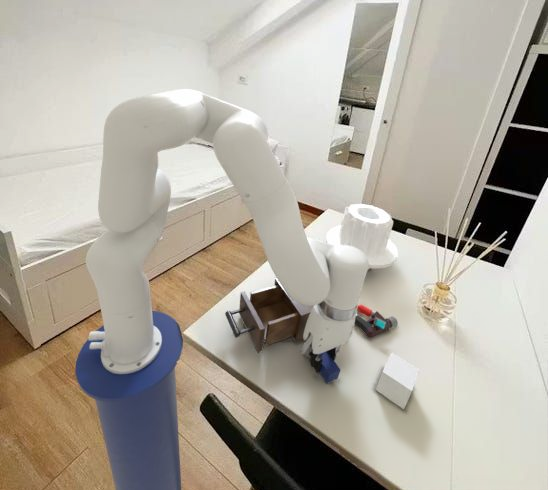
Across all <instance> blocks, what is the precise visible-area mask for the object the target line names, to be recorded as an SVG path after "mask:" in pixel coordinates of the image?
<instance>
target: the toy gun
mask: <svg viewBox="0 0 548 490" xmlns="http://www.w3.org/2000/svg"><path fill="white" fill-rule="evenodd" d="M356 311H358V312H359V313H360V314H362V315H363V316H366V317H367V318H370V319H368V320H365V319H364V318H363V317H362V316H360V315H357V314H356V317H355V323H354V326H356V327H357V328H359V330H361V331H362V332H363V333H364V335H365V336H366V338H369V339H373V338H374V337H377V336H379V335H381V334H384V333H386V332H388V331H390V329H392V328H395V327H397V326H398V325H399V324H398V322H399V321H398V319H397V318H396V317H395V316H394V315H393V316H389V317H387V318H385V317H384V316H383V315H382V314H381V313H380V312H379V311H378V310H377V311H373V309H370V308H369V307H366V305H363V304H357V307H356Z"/></svg>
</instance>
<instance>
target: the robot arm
mask: <svg viewBox="0 0 548 490" xmlns="http://www.w3.org/2000/svg"><path fill="white" fill-rule="evenodd" d="M195 138H196V139H198V140H201V141H204V142H207V143H210V144H212V149H213V152H214V155H215V157H216V160H217V161H218V163H219V164H220V167H221V168H222V169H223V171H224V173H225V174H226V177H228V179H229V181H230V182H231V183H232V185H233V187H234V189H235V190H236V192H237V193H238V195H239V197H240V198H241V200H242V202H243V204H244V206H245V208H246V209H247V211H248V212H249V213H250V216H251V218H252V221H253V224H254V228H255V230H256V233H257V236H258V239H259V241H260V244H261V246H262V249H263V252H264V254H265V257H266V260H267V262H268V264H269V266H270V269H271V270H272V272H273V274H274V276H275V278H277V279H278V280H279V282H280V284H281V285H282V287H283V288H284V290H285V291H286V293H287V294H288V295H289V296H290V297H291V298H292V299H293V300H294V301H296V302H297V303H300V304H302V305H306V306H313V305H314V307H313V309H312V311H311V313H310V315H309V318H308V320H307V323H306V326H305V330H304V334H303V339H304V340H303V341H304V344H303V345H302V347H301V348H300V350H299V351H300V353H301V354H302V356H303V357H309V356H310V357H309V364H310V367H311V368H312V369H313V370H314V371H315V372H316V374H320V368H321V365H322V359H321V357H322V355H323V352H326V351H328V353H329V354H330V356H331V357H332V359H333V360H334V361H335V362H336V358H337V354H338V353H339V352H340V351H341V347H342V345H344V344H346V343H348V342H349V341H350V339H351V337H352V335H353V331H354V328H355V324H354V323H355V317H356V316H357V307H358V305H359V299H360V296H361V293H362V290H363V287H364V284H365V281H366V277H367V274H368V271H369V270H368V266H369V262H368V259H367V256H366V255H365V254H364V253H363V252H362V251H361V250H359V249H357V248H355V247H353V246H349V245H339V246H338V245H334V244H331V243H327V242H326V241H325V240H321V239H318V238H315V237H313V236H312V237H311V236H307V234H306V231H305V227H304V224H303V221H302V216H301V211H300V207H299V203H298V199H297V196H296V193H295V191H294V189H293V187H292V185H291V183H290V181H289V180H288V178H287V176H286V174H285V172H284V170H283V169H282V166H281V164H280V163H279V161H278V159H277V158H276V155H275V153H274V151H273V150H272V148H271V145H270V144H269V142H268V139H269V132H268V127H267V124H266V123H265V121H264V119H262V118H261V116H260V115H257V113H254V112H253V111H250V110H248V109H245V108H243V107H239V106H238V105H235V104H232V103H230V102H227V101H224V100H221V99H219V98H216V97H214V96H211V95H209V94H206V93H203V92H201V91H198V90H195V89H191V88H176V89H172V90H166V91H161V92H160V91H159V92H156V93H151V94H146V95H141V96H136V97H134V98H133V97H132V98H130V99H127V100H125V101H122V102H120V103H119V104H117V105H116V106H115V107H114V108H112V109H111V111H110V112H109V114H108V115H107V117H106V119H105V121H104V126H103V139H102V140H103V141H102V146H103V147H102V162H101V167H100V179H99V190H98V201H97V212H98V217H99V220H100V222H101V223H102V225H103V226H104V228H106V230H104V232H102V233H101V234H100V235H99V236H98V237H97V238H96V239H95V240H94V242H93V243H91V245H90V247H89V248H88V250H87V254H86V256H85V266H86V269H87V271H88V273H89V275H90V277H91V279H92V281H93V283H94V286H95V290H96V293H97V298H98V302H99V303H98V304H99V307H100V312H101V313H100V314H101V318H102V324H103V325H104V330H105V332H100V331H97V330H94V331H93V330H92V331H90V332H89V334H88V337H87V340H89V341H97V340H103V342H91V344H90V349H101V350H102V351H101V361H102V364H103V366H104V367H105V368H106V369H107V370H108V371H109V372H112V373H115V374H129V373H133V372H136V371H138V370H140V369H142V368H144V367H145V366H147V365H148V364H150V363H151V362H152V361H153V360H154V359H155V357H156V356H157V355H158V353H159V351H160V349H161V345H162V336H161V333H160V331H159V329H158V328H156V327H155V326H154V325H153V315H152V311H153V306H152V295H151V285H150V280H149V277H148V276H147V274H146V273H145V272H144V265H145V262H146V261H147V259H148V257H150V255H151V253H152V252H153V250H154V249H155V248H156V246H157V245H158V244H159V242H160V241H161V239H162V238H163V234H164V231H165V229H166V223H167V217H168V212H169V207H170V202H171V196H172V186H171V183H170V180H169V177H168V176H167V174H166V173H165V172H164V171H163V170H162V169H160V168H159V155H158V154H159V152H161V151H165V150H172V149H175V148H178V147H181V146H184V145H185V144H187V143H188V142H190V141H191V140H193V139H195Z"/></svg>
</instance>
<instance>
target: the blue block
mask: <svg viewBox="0 0 548 490" xmlns="http://www.w3.org/2000/svg"><path fill="white" fill-rule="evenodd" d="M308 357H309V358H310V356H308ZM321 359H322V365H321V368H320V372H319V374H320V375H321V377H322V379H323V381H324V382H325V383H326V385H327V384H330V383H332V382H334V381H336V380H338V379H339V375H340V372H341V368H340V366H339V365H338V364H337V362H336V360H335V361H334V360H333V359H332V357H331V356H330V354H329V353H328V351H326V352H323V355H322V357H321Z"/></svg>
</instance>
